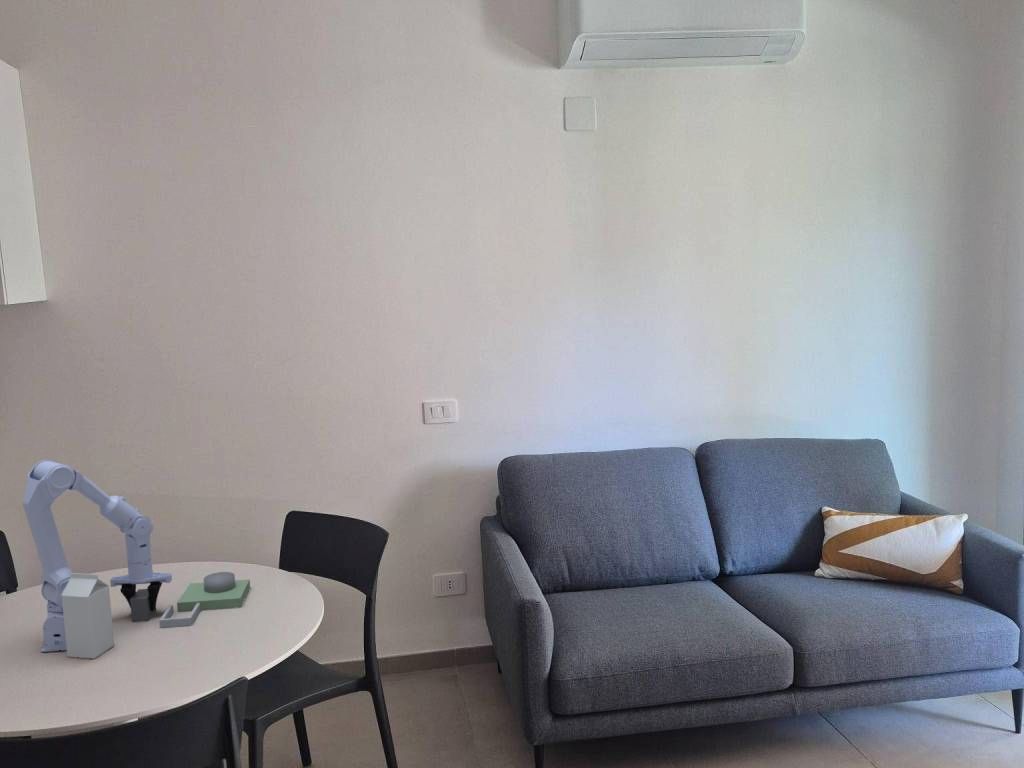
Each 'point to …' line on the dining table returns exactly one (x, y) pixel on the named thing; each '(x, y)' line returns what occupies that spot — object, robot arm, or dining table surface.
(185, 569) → the dining table surface
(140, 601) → the dark gray block
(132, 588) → the robot arm
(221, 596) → the green panel
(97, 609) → the milk carton
